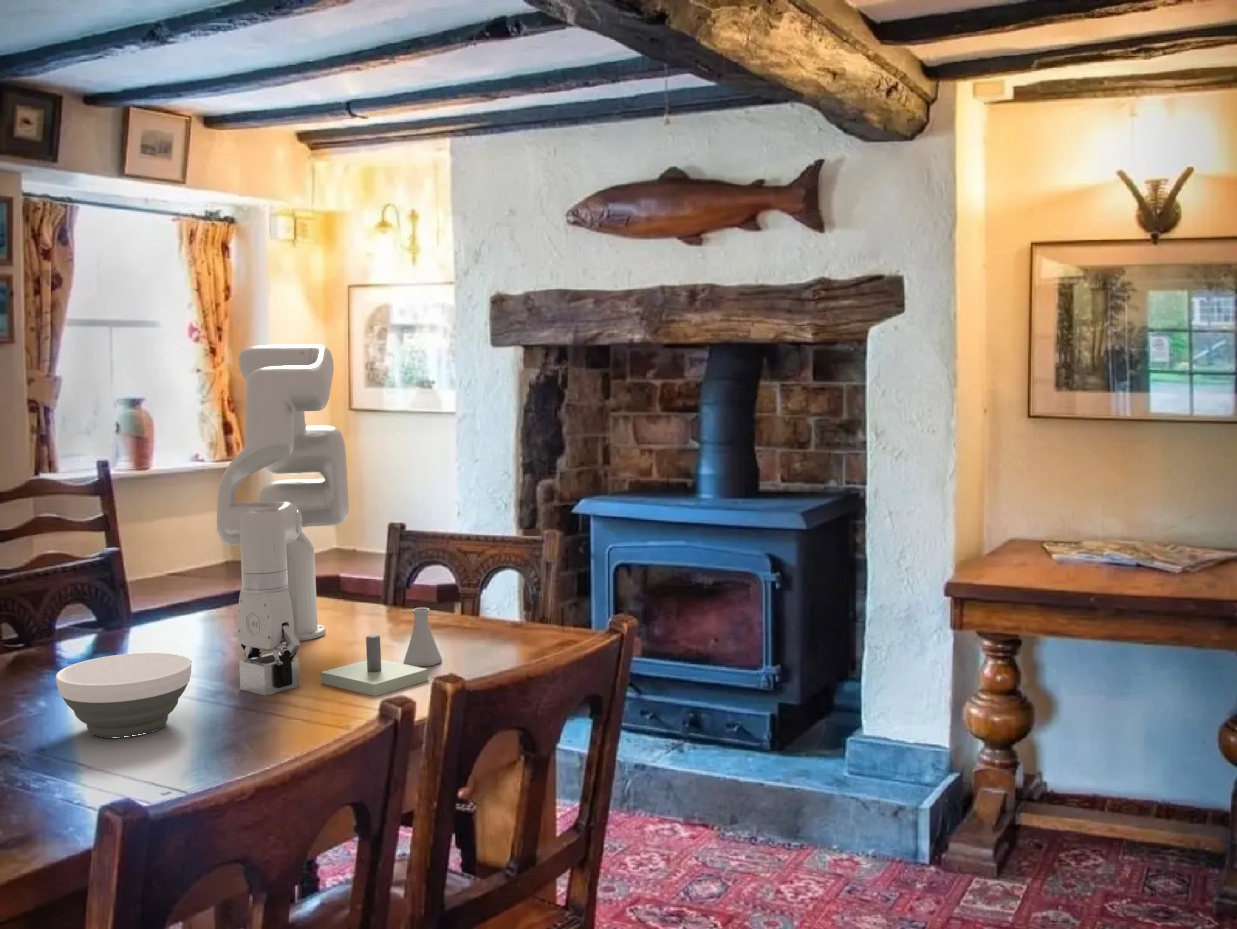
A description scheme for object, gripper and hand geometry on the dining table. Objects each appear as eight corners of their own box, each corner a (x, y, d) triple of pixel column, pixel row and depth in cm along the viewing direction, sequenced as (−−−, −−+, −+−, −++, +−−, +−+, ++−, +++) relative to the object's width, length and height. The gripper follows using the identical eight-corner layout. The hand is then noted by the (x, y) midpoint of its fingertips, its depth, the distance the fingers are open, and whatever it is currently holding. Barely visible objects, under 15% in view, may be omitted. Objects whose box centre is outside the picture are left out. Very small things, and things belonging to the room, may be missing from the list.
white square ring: (240, 689, 219) (239, 660, 219) (274, 680, 224) (273, 652, 224) (265, 695, 215) (264, 666, 214) (299, 686, 220) (298, 658, 220)
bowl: (59, 755, 185) (55, 691, 184) (59, 720, 203) (55, 661, 202) (200, 736, 193) (197, 675, 192) (188, 704, 211) (185, 647, 210)
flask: (434, 668, 231) (433, 614, 230) (396, 667, 232) (394, 613, 231) (448, 658, 238) (446, 605, 237) (411, 657, 239) (409, 604, 238)
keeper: (321, 683, 222) (319, 638, 221) (374, 668, 231) (373, 625, 230) (374, 696, 213) (373, 649, 212) (428, 680, 223) (426, 635, 222)
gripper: (215, 579, 220) (221, 680, 222) (278, 589, 209) (283, 696, 211) (252, 572, 226) (257, 670, 228) (315, 582, 215) (319, 685, 217)
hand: (269, 682), depth 219 cm, fingers closed on white square ring, 7 cm apart
